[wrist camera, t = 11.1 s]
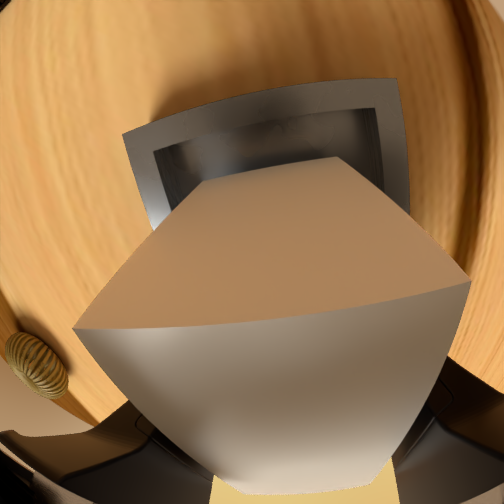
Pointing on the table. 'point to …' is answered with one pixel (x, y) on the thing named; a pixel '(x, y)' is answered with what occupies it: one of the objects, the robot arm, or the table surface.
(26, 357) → the sculpture
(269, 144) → the dark grey tray
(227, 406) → the cream tapered block
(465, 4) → the table surface
